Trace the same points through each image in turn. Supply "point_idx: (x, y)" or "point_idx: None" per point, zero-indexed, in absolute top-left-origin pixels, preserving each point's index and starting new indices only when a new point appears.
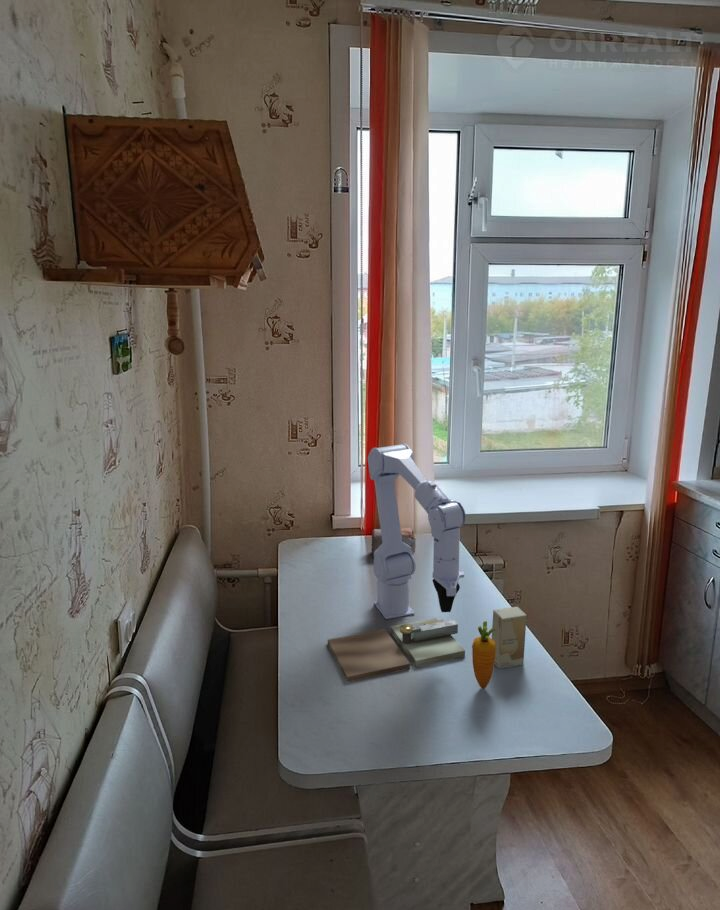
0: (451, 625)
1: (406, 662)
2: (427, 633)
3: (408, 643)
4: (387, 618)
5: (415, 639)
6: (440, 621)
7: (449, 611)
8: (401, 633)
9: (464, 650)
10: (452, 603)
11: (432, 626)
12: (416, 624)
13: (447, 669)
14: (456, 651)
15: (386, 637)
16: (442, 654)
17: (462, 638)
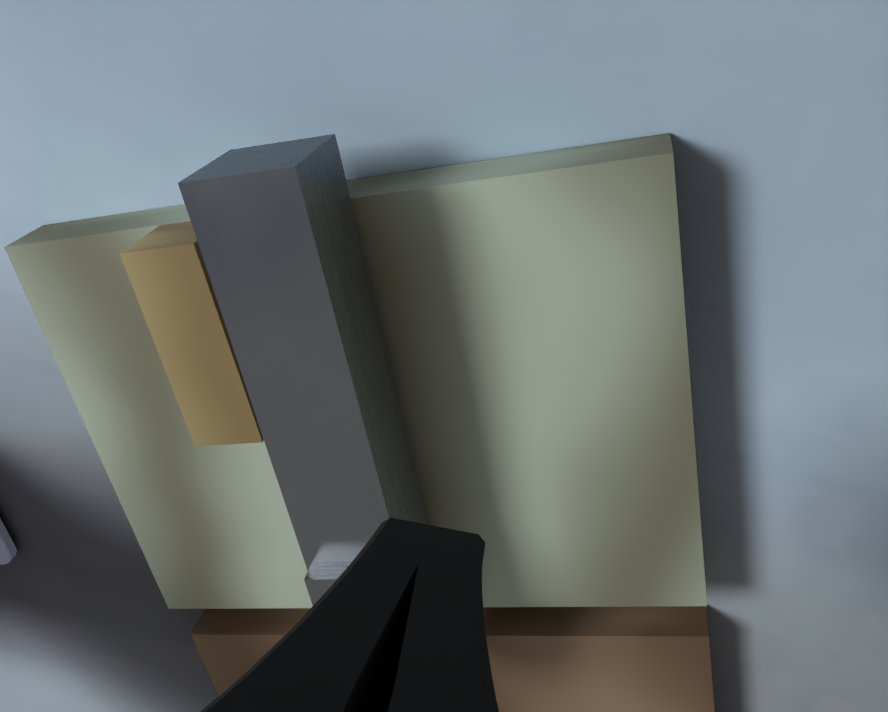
0: (317, 250)
1: (685, 651)
2: (395, 482)
3: None
4: (13, 550)
5: None
6: (162, 293)
7: (482, 556)
8: (276, 576)
9: (669, 157)
10: (487, 657)
11: (323, 446)
12: (137, 438)
13: (825, 360)
14: (666, 249)
15: None
16: (677, 391)
17: (315, 41)
